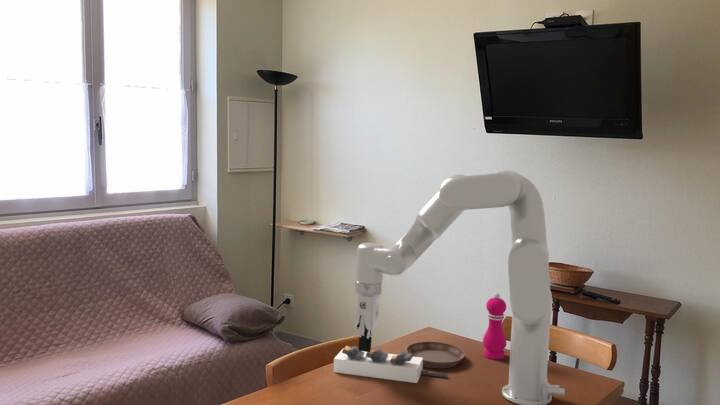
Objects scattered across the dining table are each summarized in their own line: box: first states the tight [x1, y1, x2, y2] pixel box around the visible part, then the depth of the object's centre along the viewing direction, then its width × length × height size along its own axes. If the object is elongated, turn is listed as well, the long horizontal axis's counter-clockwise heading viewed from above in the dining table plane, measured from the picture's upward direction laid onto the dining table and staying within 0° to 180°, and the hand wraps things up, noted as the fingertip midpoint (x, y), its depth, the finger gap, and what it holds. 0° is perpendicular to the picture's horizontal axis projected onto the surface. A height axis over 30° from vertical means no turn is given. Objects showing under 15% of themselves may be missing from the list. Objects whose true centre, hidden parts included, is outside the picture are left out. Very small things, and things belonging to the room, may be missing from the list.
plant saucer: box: [405, 341, 466, 369], centre depth 186 cm, size 18×18×3 cm
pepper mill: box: [482, 292, 507, 361], centre depth 189 cm, size 7×7×20 cm
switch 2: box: [390, 351, 413, 365], centre depth 171 cm, size 6×4×3 cm, turn 74°
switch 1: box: [342, 345, 365, 360], centre depth 175 cm, size 6×4×3 cm, turn 75°
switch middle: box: [366, 348, 389, 362], centre depth 173 cm, size 6×4×3 cm, turn 75°
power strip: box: [333, 347, 449, 384], centre depth 174 cm, size 32×9×4 cm, turn 75°
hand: (364, 350), depth 174 cm, fingers closed
